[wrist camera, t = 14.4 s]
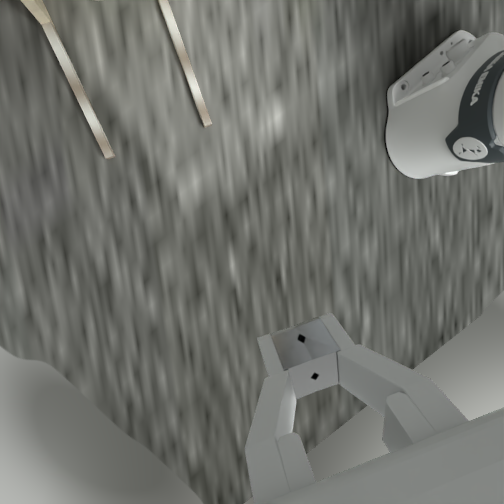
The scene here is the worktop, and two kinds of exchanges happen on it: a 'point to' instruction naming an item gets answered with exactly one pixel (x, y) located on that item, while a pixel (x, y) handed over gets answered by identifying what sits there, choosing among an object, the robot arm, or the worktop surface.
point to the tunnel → (41, 14)
